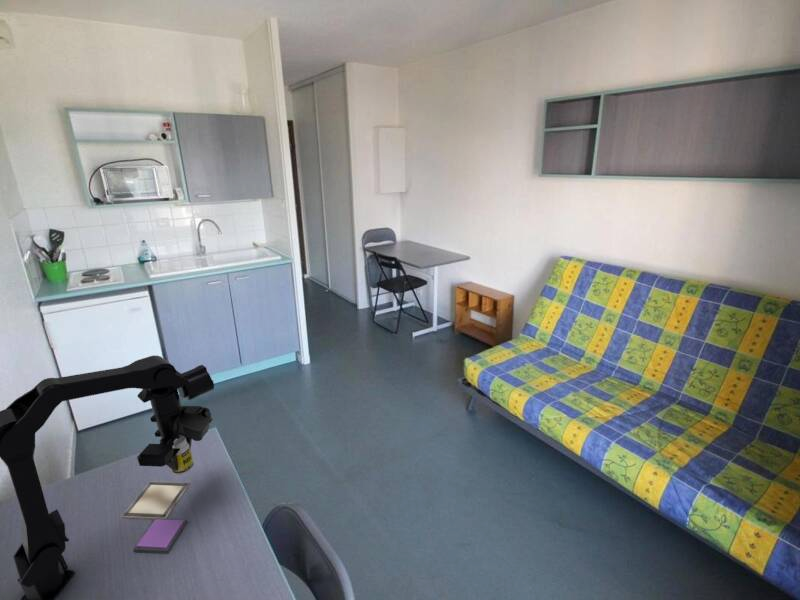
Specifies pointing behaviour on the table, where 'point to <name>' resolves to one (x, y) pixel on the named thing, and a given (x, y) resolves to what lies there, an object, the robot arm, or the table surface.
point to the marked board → (156, 500)
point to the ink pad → (160, 536)
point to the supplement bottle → (183, 456)
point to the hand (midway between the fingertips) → (181, 462)
